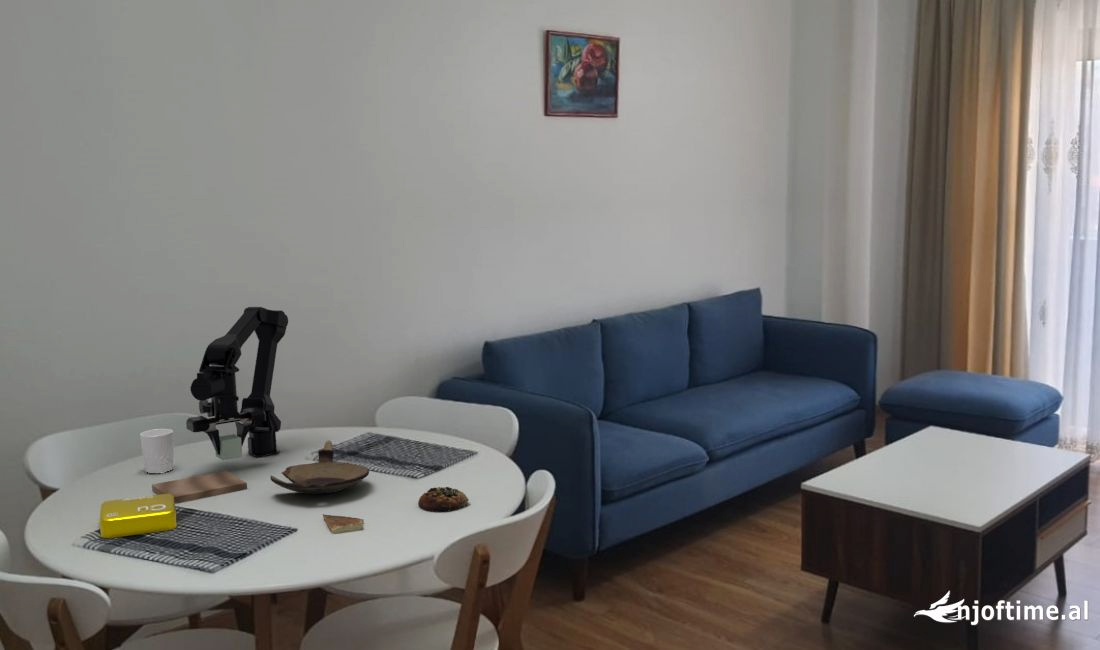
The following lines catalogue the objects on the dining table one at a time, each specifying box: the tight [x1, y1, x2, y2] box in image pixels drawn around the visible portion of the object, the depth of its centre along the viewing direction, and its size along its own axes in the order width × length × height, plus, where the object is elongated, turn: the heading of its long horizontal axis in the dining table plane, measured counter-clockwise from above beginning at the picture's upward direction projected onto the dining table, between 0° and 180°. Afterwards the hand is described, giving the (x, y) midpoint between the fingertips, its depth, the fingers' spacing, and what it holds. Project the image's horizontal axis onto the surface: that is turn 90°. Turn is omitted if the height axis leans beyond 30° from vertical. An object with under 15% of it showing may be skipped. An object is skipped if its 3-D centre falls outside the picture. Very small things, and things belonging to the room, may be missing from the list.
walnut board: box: [151, 470, 248, 504], centre depth 253 cm, size 18×14×2 cm
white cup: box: [139, 428, 175, 474], centre depth 270 cm, size 8×8×10 cm
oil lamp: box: [269, 439, 370, 495], centre depth 252 cm, size 22×30×8 cm
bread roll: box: [417, 486, 469, 513], centre depth 237 cm, size 11×11×5 cm
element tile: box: [99, 494, 178, 539], centre depth 229 cm, size 15×15×5 cm
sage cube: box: [215, 433, 243, 461], centre depth 269 cm, size 5×5×5 cm
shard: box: [322, 513, 365, 535], centre depth 226 cm, size 11×8×2 cm
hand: (228, 452), depth 269 cm, fingers closed on sage cube, 5 cm apart
